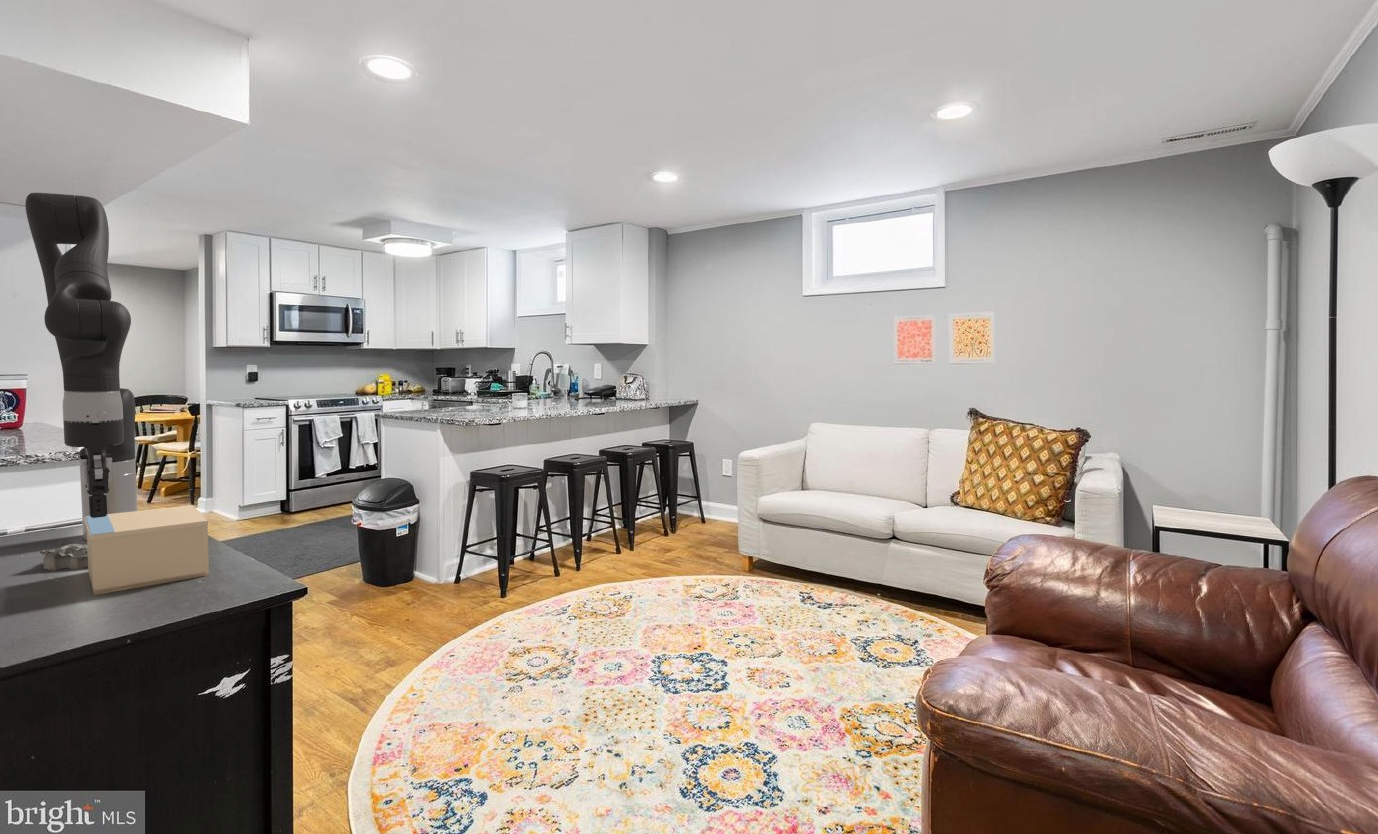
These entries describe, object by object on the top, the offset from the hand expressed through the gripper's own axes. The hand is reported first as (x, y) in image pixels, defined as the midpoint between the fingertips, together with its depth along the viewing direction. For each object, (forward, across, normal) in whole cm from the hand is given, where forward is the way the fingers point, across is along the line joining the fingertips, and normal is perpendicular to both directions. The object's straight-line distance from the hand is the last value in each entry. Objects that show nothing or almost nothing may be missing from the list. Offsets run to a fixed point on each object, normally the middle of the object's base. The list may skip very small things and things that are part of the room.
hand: (98, 516), depth 111 cm
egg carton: (+14, -21, -2) cm, 25 cm away
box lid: (+3, -6, +7) cm, 10 cm away
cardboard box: (+13, -6, +7) cm, 16 cm away
